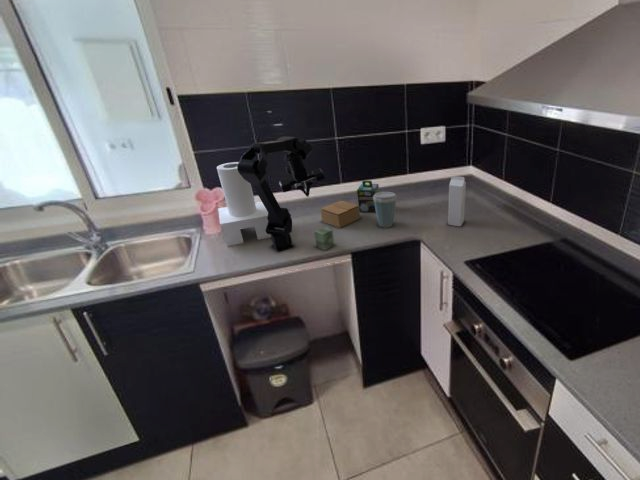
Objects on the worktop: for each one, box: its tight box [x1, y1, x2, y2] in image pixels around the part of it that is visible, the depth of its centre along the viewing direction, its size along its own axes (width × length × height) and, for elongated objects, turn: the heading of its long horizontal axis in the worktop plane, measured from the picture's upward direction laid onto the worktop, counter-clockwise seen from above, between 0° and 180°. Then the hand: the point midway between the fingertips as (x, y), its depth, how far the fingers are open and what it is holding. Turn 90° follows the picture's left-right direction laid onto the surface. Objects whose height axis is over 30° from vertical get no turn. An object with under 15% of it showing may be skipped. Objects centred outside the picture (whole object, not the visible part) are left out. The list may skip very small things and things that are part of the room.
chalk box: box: [356, 180, 380, 213], centre depth 187 cm, size 9×9×15 cm
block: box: [314, 226, 335, 251], centre depth 154 cm, size 5×5×7 cm
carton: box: [320, 200, 361, 229], centre depth 177 cm, size 13×12×7 cm
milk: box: [447, 175, 467, 227], centre depth 169 cm, size 6×6×22 cm
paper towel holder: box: [216, 161, 271, 247], centre depth 160 cm, size 19×19×30 cm
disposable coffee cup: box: [373, 191, 398, 228], centre depth 170 cm, size 11×11×15 cm
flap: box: [320, 204, 349, 215], centre depth 173 cm, size 6×12×1 cm, turn 54°
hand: (307, 196), depth 169 cm, fingers closed
